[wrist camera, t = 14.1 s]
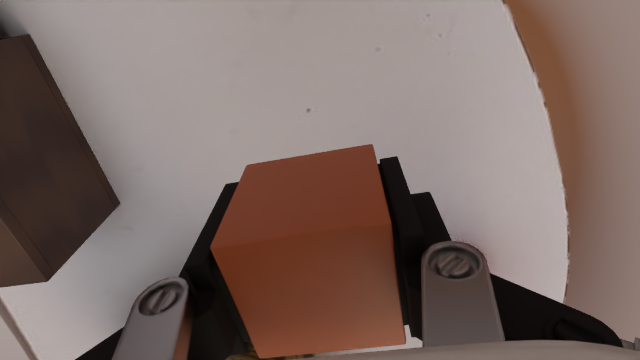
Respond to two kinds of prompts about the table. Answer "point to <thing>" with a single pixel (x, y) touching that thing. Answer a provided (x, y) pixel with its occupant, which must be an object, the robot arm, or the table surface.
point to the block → (312, 255)
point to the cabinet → (42, 171)
